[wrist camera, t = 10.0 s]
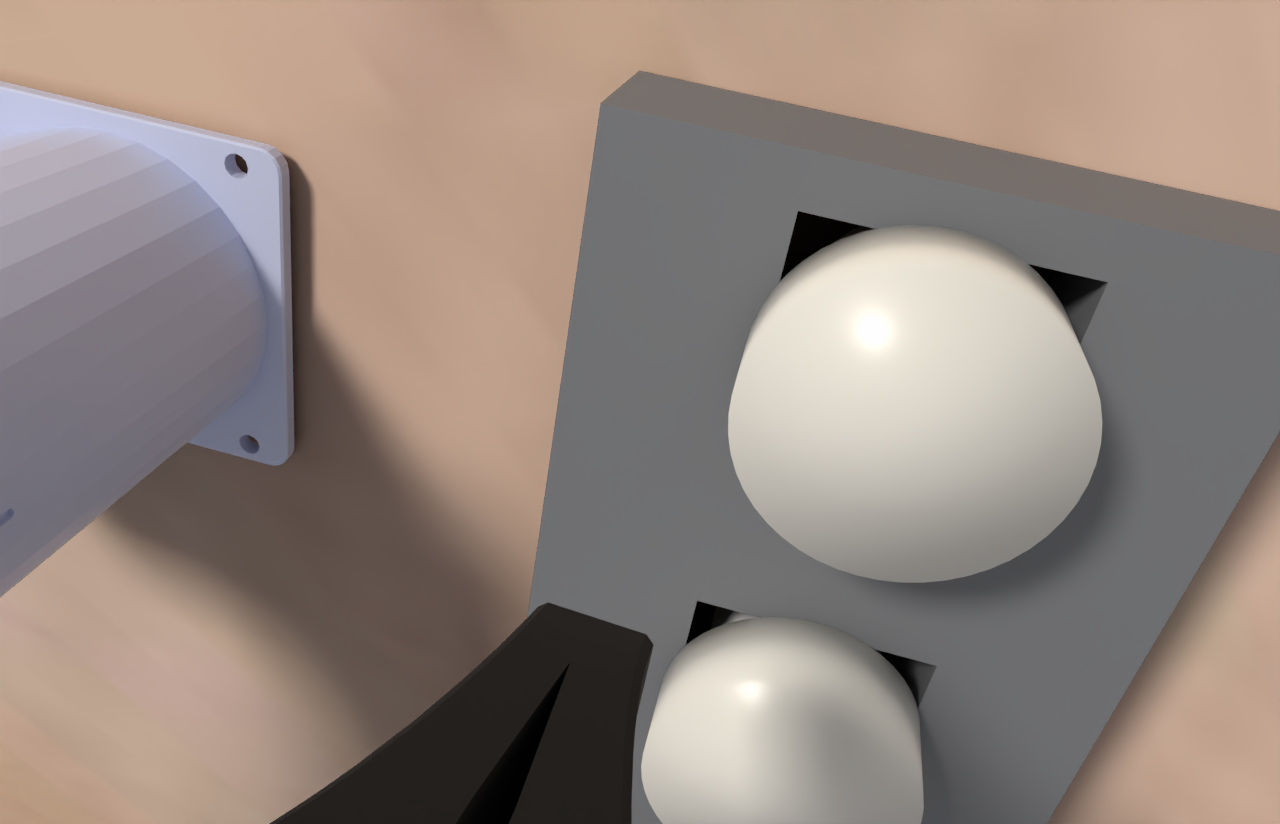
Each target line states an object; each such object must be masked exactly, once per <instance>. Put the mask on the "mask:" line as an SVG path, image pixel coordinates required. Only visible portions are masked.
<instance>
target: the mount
mask: <svg viewBox="0 0 1280 824" xmlns="http://www.w3.org/2000/svg"><path fill="white" fill-rule="evenodd" d="M798 211H800V212H804V213H809V214H813V215H817V216H822V217H826V218H830V219H835V220H839V221H843V222H848V223H852V224H856V225H861V226H865V227H869V228H874V229H878V228H883V227H889V226H901V225H931V226H939V227H945V228H951V229H957V230H961V231H964V232H967V233H971V234H974V235H977V236H980V237H983V238H985V239H987V240H989V241H992V242H994V243H996V244H998V245H1001V246H1002V247H1004V248H1005V249H1007V250H1009V251H1010V252H1012V253H1013V254H1015V255H1017V256H1018V257H1020V258H1021V259H1022V260H1023V261H1025V262H1026V263H1027V264H1030V265H1035V266H1039V267H1043V268H1048V269H1052V270H1056V271H1055V274H1054V276H1053V279H1052V281H1051V283H1050V287H1051V288H1052V290H1053V291H1054V293H1055V294H1056V296H1057V297H1058V299H1059V300H1060V302H1061V303H1062V305H1063V307H1064V309H1065V312H1066V314H1067V316H1068V318H1069V320H1070V323H1071V325H1072V327H1073V330H1074V332H1075V334H1076V337H1077V339H1078V341H1079V344H1080V346H1081V348H1082V351H1083V353H1084V355H1085V358H1086V360H1087V362H1088V365H1089V367H1090V369H1091V372H1092V374H1093V376H1094V379H1095V382H1096V386H1097V390H1098V393H1099V397H1100V402H1101V412H1102V437H1101V446H1100V450H1099V455H1098V459H1097V463H1096V466H1095V469H1094V471H1093V474H1092V476H1091V479H1090V481H1089V484H1088V486H1087V487H1086V489H1085V491H1084V492H1083V494H1082V496H1081V498H1080V499H1079V501H1078V503H1077V504H1076V505H1075V507H1074V508H1073V509H1072V510H1071V512H1070V513H1069V514H1068V515H1067V517H1066V518H1065V519H1064V520H1063V521H1062V522H1061V523H1060V524H1059V525H1058V526H1057V527H1056V528H1055V529H1054V530H1053V531H1052V532H1051V533H1050V534H1049V535H1048V536H1047V537H1045V538H1044V539H1043V540H1041V541H1040V542H1039V543H1037V544H1036V545H1035V546H1033V547H1032V548H1031V549H1029V550H1027V551H1026V552H1024V553H1022V554H1020V555H1019V556H1017V557H1015V558H1013V559H1012V560H1010V561H1008V562H1005V563H1003V564H1001V565H998V566H996V567H994V568H992V569H989V570H986V571H983V572H979V573H976V574H973V575H970V576H966V577H961V578H956V579H951V580H946V581H936V582H925V583H900V582H891V581H882V580H875V579H871V578H866V577H861V576H857V575H854V574H850V573H847V572H844V571H841V570H838V569H835V568H833V567H831V566H829V565H826V564H824V563H822V562H820V561H817V560H815V559H814V558H812V557H810V556H809V555H807V554H805V553H803V552H802V551H800V550H798V549H797V548H796V547H794V546H793V545H792V544H790V543H789V542H788V541H786V540H785V539H784V538H782V537H781V536H780V535H779V534H778V533H777V532H776V531H775V530H774V529H773V528H772V527H771V526H770V525H768V524H767V522H766V521H765V520H764V519H763V518H762V516H761V515H760V514H759V513H758V511H757V510H756V509H755V508H754V506H753V505H752V503H751V501H750V500H749V498H748V497H747V495H746V493H745V492H744V490H743V488H742V485H741V483H740V481H739V479H738V476H737V474H736V471H735V468H734V464H733V461H732V457H731V453H730V446H729V438H728V414H729V408H730V402H731V396H732V392H733V389H734V385H735V381H736V378H737V374H738V371H739V367H740V363H741V360H742V356H743V353H744V349H745V345H746V342H747V339H748V336H749V333H750V330H751V327H752V324H753V322H754V320H755V318H756V316H757V314H758V312H759V310H760V308H761V306H762V305H763V303H764V302H765V300H766V299H767V297H768V296H769V294H770V293H771V291H772V290H773V289H774V288H775V287H776V286H777V284H778V283H779V282H780V279H781V275H782V271H783V267H784V263H785V259H786V256H787V252H788V248H789V244H790V240H791V236H792V232H793V229H794V225H795V221H796V217H797V213H798ZM1279 432H1280V211H1276V210H1272V209H1267V208H1263V207H1258V206H1254V205H1249V204H1245V203H1240V202H1235V201H1231V200H1226V199H1222V198H1217V197H1213V196H1208V195H1204V194H1199V193H1194V192H1190V191H1185V190H1181V189H1176V188H1172V187H1167V186H1163V185H1158V184H1153V183H1149V182H1144V181H1140V180H1135V179H1131V178H1126V177H1122V176H1117V175H1112V174H1108V173H1103V172H1099V171H1094V170H1090V169H1085V168H1080V167H1076V166H1071V165H1067V164H1062V163H1058V162H1053V161H1049V160H1044V159H1039V158H1035V157H1030V156H1026V155H1021V154H1017V153H1012V152H1008V151H1003V150H998V149H994V148H989V147H985V146H980V145H976V144H971V143H967V142H962V141H957V140H953V139H948V138H944V137H939V136H935V135H930V134H926V133H921V132H916V131H912V130H907V129H903V128H898V127H894V126H889V125H885V124H880V123H875V122H871V121H866V120H862V119H857V118H853V117H848V116H843V115H839V114H834V113H830V112H825V111H821V110H816V109H812V108H807V107H802V106H798V105H793V104H789V103H784V102H780V101H775V100H771V99H766V98H761V97H757V96H752V95H748V94H743V93H739V92H734V91H730V90H725V89H720V88H716V87H711V86H707V85H702V84H698V83H693V82H689V81H684V80H679V79H675V78H670V77H666V76H661V75H657V74H652V73H648V72H643V71H638V72H637V73H636V74H635V75H634V76H633V77H631V78H630V79H629V80H628V81H627V82H625V83H624V84H623V85H622V86H621V87H619V88H618V89H617V90H616V91H615V92H614V93H612V94H611V95H610V96H609V97H608V98H606V99H605V100H604V101H603V102H602V103H601V105H600V112H599V119H598V126H597V133H596V140H595V147H594V154H593V161H592V168H591V175H590V182H589V189H588V196H587V203H586V210H585V217H584V224H583V231H582V238H581V245H580V252H579V259H578V266H577V273H576V280H575V287H574V294H573V301H572V308H571V315H570V322H569V329H568V336H567V343H566V350H565V357H564V364H563V371H562V378H561V385H560V392H559V399H558V406H557V413H556V420H555V427H554V434H553V441H552V448H551V455H550V462H549V469H548V476H547V483H546V490H545V497H544V504H543V511H542V518H541V525H540V532H539V539H538V546H537V553H536V560H535V567H534V575H533V582H532V589H531V596H530V603H529V610H528V617H529V616H530V615H531V613H532V612H533V611H534V610H535V609H536V608H537V607H538V606H540V605H543V604H545V603H548V602H549V603H552V604H555V605H558V606H561V607H564V608H567V609H570V610H573V611H576V612H579V613H582V614H586V615H589V616H592V617H595V618H598V619H601V620H604V621H607V622H610V623H613V624H616V625H619V626H622V627H626V628H629V629H632V630H635V631H638V632H641V633H644V634H647V636H648V637H649V639H650V640H651V642H652V643H653V645H654V646H653V650H652V654H651V659H650V663H649V667H648V671H647V676H646V680H645V684H644V688H643V693H642V697H641V701H640V705H639V710H638V714H637V719H636V728H635V738H634V751H633V777H632V824H663V823H662V822H661V821H660V819H659V818H658V817H657V816H656V814H655V812H654V810H653V809H652V807H651V805H650V803H649V801H648V799H647V796H646V793H645V791H644V787H643V782H642V774H641V764H642V757H643V752H644V748H645V744H646V740H647V736H648V733H649V729H650V725H651V721H652V718H653V714H654V710H655V706H656V703H657V699H658V695H659V691H660V687H661V684H662V681H663V678H664V675H665V672H666V670H667V668H668V667H669V665H670V663H671V661H672V660H673V659H674V657H675V656H676V655H677V654H678V652H679V651H680V650H681V649H682V648H684V647H685V646H686V642H687V638H688V634H689V630H690V626H691V622H692V619H693V615H694V611H695V607H696V603H697V601H700V602H704V603H707V604H711V605H715V606H718V607H722V608H726V609H729V610H733V611H737V612H740V613H744V614H748V615H751V616H755V617H759V618H762V617H783V618H792V619H800V620H805V621H810V622H815V623H819V624H822V625H825V626H828V627H831V628H834V629H837V630H840V631H842V632H844V633H846V634H849V635H851V636H853V637H855V638H857V639H858V640H860V641H862V642H863V643H865V644H867V645H869V646H870V647H871V648H873V649H876V650H880V651H883V652H887V653H891V654H894V655H897V656H896V658H895V661H894V663H893V666H894V667H895V669H896V670H897V671H898V672H899V673H900V675H901V676H902V677H903V678H904V680H905V682H906V683H907V685H908V687H909V688H910V690H911V692H912V694H913V697H914V699H915V702H916V704H917V708H918V713H919V718H920V738H921V758H922V778H923V800H924V810H923V816H922V821H921V824H1047V823H1048V821H1049V819H1050V818H1051V816H1052V814H1053V812H1054V811H1055V809H1056V807H1057V806H1058V804H1059V802H1060V801H1061V799H1062V797H1063V796H1064V794H1065V792H1066V791H1067V789H1068V787H1069V786H1070V784H1071V782H1072V780H1073V779H1074V777H1075V775H1076V774H1077V772H1078V770H1079V769H1080V767H1081V765H1082V764H1083V762H1084V760H1085V759H1086V757H1087V755H1088V754H1089V752H1090V750H1091V748H1092V747H1093V745H1094V743H1095V742H1096V740H1097V738H1098V737H1099V735H1100V733H1101V732H1102V730H1103V728H1104V727H1105V725H1106V723H1107V722H1108V720H1109V718H1110V716H1111V715H1112V713H1113V711H1114V710H1115V708H1116V706H1117V705H1118V703H1119V701H1120V700H1121V698H1122V696H1123V695H1124V693H1125V691H1126V690H1127V688H1128V686H1129V684H1130V683H1131V681H1132V679H1133V678H1134V676H1135V674H1136V673H1137V671H1138V669H1139V668H1140V666H1141V664H1142V663H1143V661H1144V659H1145V658H1146V656H1147V654H1148V652H1149V651H1150V649H1151V647H1152V646H1153V644H1154V642H1155V641H1156V639H1157V637H1158V636H1159V634H1160V632H1161V631H1162V629H1163V627H1164V626H1165V624H1166V622H1167V621H1168V619H1169V617H1170V615H1171V614H1172V612H1173V610H1174V609H1175V607H1176V605H1177V604H1178V602H1179V600H1180V599H1181V597H1182V595H1183V594H1184V592H1185V590H1186V589H1187V587H1188V585H1189V583H1190V582H1191V580H1192V578H1193V577H1194V575H1195V573H1196V572H1197V570H1198V568H1199V567H1200V565H1201V563H1202V562H1203V560H1204V558H1205V557H1206V555H1207V553H1208V551H1209V550H1210V548H1211V546H1212V545H1213V543H1214V541H1215V540H1216V538H1217V536H1218V535H1219V533H1220V531H1221V530H1222V528H1223V526H1224V525H1225V523H1226V521H1227V519H1228V518H1229V516H1230V514H1231V513H1232V511H1233V509H1234V508H1235V506H1236V504H1237V503H1238V501H1239V499H1240V498H1241V496H1242V494H1243V493H1244V491H1245V489H1246V487H1247V486H1248V484H1249V482H1250V481H1251V479H1252V477H1253V476H1254V474H1255V472H1256V471H1257V469H1258V467H1259V466H1260V464H1261V462H1262V461H1263V459H1264V457H1265V455H1266V454H1267V452H1268V450H1269V449H1270V447H1271V445H1272V444H1273V442H1274V440H1275V439H1276V437H1277V435H1278V434H1279ZM528 617H527V618H528Z"/></svg>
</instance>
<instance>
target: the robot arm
mask: <svg viewBox="0 0 1280 824" xmlns="http://www.w3.org/2000/svg"><path fill="white" fill-rule="evenodd" d="M236 154H237V155H239V156H241V157H242V158H243V159H244V160H245V161H246V163H247V167H248V172H247V173H245V172H243V171H241V170H240V168H239V167H238V166H237V164H236V160H235V156H236ZM249 436H251V437H253V438H255V439H256V441H257V442H258V444H259V445H257V444H255V443H253V442H252V441H251V439H250V438H249ZM186 443H190V444H194V445H197V446H201V447H205V448H208V449H212V450H216V451H220V452H223V453H227V454H231V455H234V456H238V457H242V458H245V459H249V460H253V461H256V462H260V463H264V464H268V465H274V466H278V465H281V464H283V463H284V462H285V461H286V460H287V459H288V458H289V457H290V456H291V455H292V454H293V452H294V393H293V340H292V287H291V233H290V180H289V168H288V163H287V161H286V160H285V158H284V156H283V154H281V153H280V152H279V151H278V150H277V149H276V148H275V147H273V146H270V145H268V144H265V143H261V142H257V141H252V140H248V139H244V138H240V137H235V136H231V135H227V134H223V133H218V132H214V131H210V130H206V129H202V128H197V127H193V126H189V125H185V124H180V123H176V122H172V121H168V120H163V119H159V118H155V117H151V116H147V115H142V114H138V113H134V112H130V111H125V110H121V109H117V108H113V107H108V106H104V105H100V104H96V103H91V102H87V101H83V100H79V99H75V98H70V97H66V96H62V95H58V94H53V93H49V92H45V91H41V90H36V89H32V88H28V87H24V86H19V85H15V84H11V83H7V82H3V81H0V597H1V596H3V595H4V594H5V593H6V592H8V591H9V590H10V589H11V588H12V587H14V586H15V585H16V584H17V583H18V582H20V581H21V580H22V579H23V578H24V577H26V576H27V575H28V574H29V573H30V572H32V571H33V570H34V569H35V568H36V567H38V566H39V565H40V564H41V563H43V562H44V561H45V560H46V559H47V558H49V557H50V556H51V555H52V554H53V553H55V552H56V551H57V550H58V549H59V548H61V547H62V546H63V545H64V544H65V543H67V542H68V541H69V540H70V539H71V538H73V537H74V536H75V535H76V534H77V533H79V532H80V531H81V530H82V529H84V528H85V527H86V526H87V525H88V524H90V523H91V522H92V521H93V520H94V519H96V518H97V517H98V516H99V515H100V514H102V513H103V512H104V511H105V510H106V509H108V508H109V507H110V506H111V505H112V504H114V503H115V502H116V501H117V500H119V499H120V498H121V497H122V496H123V495H125V494H126V493H127V492H128V491H129V490H131V489H132V488H133V487H134V486H135V485H137V484H138V483H139V482H140V481H141V480H143V479H144V478H145V477H146V476H147V475H149V474H150V473H151V472H152V471H154V470H155V469H156V468H157V467H158V466H160V465H161V464H162V463H163V462H164V461H166V460H167V459H168V458H169V457H170V456H172V455H173V454H174V453H175V452H176V451H178V450H179V449H180V448H181V447H182V446H184V445H185V444H186ZM653 646H654V645H653V643H652V642H651V640H650V639H649V637H648V636H647V634H644V633H641V632H638V631H635V630H632V629H629V628H626V627H622V626H619V625H616V624H613V623H610V622H607V621H604V620H601V619H598V618H595V617H592V616H589V615H586V614H582V613H579V612H576V611H573V610H570V609H567V608H564V607H561V606H558V605H555V604H552V603H549V602H548V603H545V604H543V605H540V606H538V607H537V608H536V609H535V610H534V611H533V612H532V613H531V615H530V616H529V617H528V618H527V619H526V620H525V621H524V622H523V623H522V624H521V625H520V626H519V627H518V628H517V629H516V630H515V631H514V632H513V633H512V634H511V635H510V636H509V637H508V638H507V639H506V640H505V641H504V642H503V643H502V644H501V645H500V646H499V647H498V648H497V649H496V650H495V651H494V652H493V653H492V654H490V655H489V656H488V657H487V658H486V659H485V660H484V661H483V662H482V663H481V664H480V665H478V666H477V667H476V668H475V669H474V670H473V671H472V672H471V673H470V674H469V675H468V676H466V677H465V678H464V679H463V680H462V681H461V682H459V683H458V684H457V685H456V686H455V687H454V688H452V689H451V690H450V691H449V692H448V693H447V694H445V695H444V696H443V697H442V698H441V699H439V700H438V701H437V702H436V703H435V704H434V705H432V706H431V707H430V708H429V709H428V710H427V711H425V712H424V713H423V714H422V715H421V716H419V717H418V718H417V719H416V720H414V721H413V722H412V723H411V724H410V725H408V726H407V727H406V728H404V729H403V730H402V731H400V732H399V733H398V734H396V735H395V736H394V737H393V738H391V739H390V740H389V741H387V742H386V743H385V744H383V745H382V746H381V747H379V748H378V749H377V750H375V751H374V752H373V753H372V754H370V755H369V756H368V757H366V758H365V759H364V760H362V761H361V762H360V763H358V764H357V765H356V766H354V767H353V768H352V769H350V770H349V771H347V772H346V773H345V774H343V775H342V776H340V777H339V778H338V779H336V780H335V781H333V782H332V783H330V784H329V785H328V786H326V787H325V788H323V789H322V790H320V791H319V792H317V793H316V794H314V795H313V796H311V797H310V798H308V799H307V800H305V801H304V802H302V803H301V804H299V805H298V806H296V807H295V808H293V809H292V810H290V811H288V812H287V813H285V814H284V815H282V816H281V817H279V818H278V819H276V820H275V821H273V822H271V823H270V824H632V777H633V751H634V738H635V728H636V719H637V714H638V710H639V705H640V701H641V697H642V693H643V688H644V684H645V680H646V676H647V671H648V667H649V663H650V659H651V654H652V650H653Z"/></svg>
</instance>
